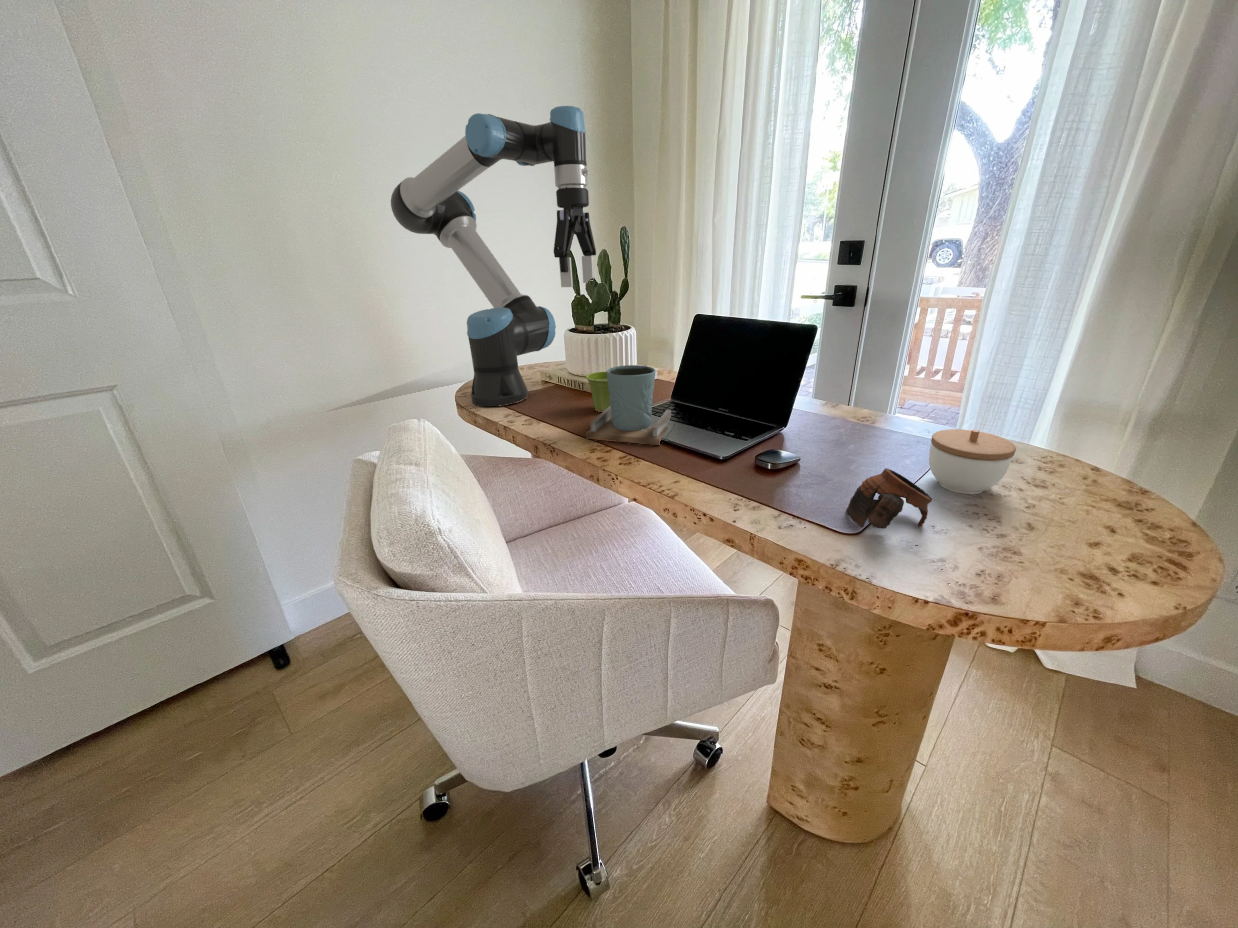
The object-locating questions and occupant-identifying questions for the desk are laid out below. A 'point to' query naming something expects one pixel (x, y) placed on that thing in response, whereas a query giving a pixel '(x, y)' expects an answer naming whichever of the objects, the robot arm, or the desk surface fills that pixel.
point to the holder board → (605, 430)
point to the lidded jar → (969, 459)
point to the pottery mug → (886, 499)
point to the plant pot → (599, 390)
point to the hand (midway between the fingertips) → (578, 285)
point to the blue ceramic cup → (631, 396)
